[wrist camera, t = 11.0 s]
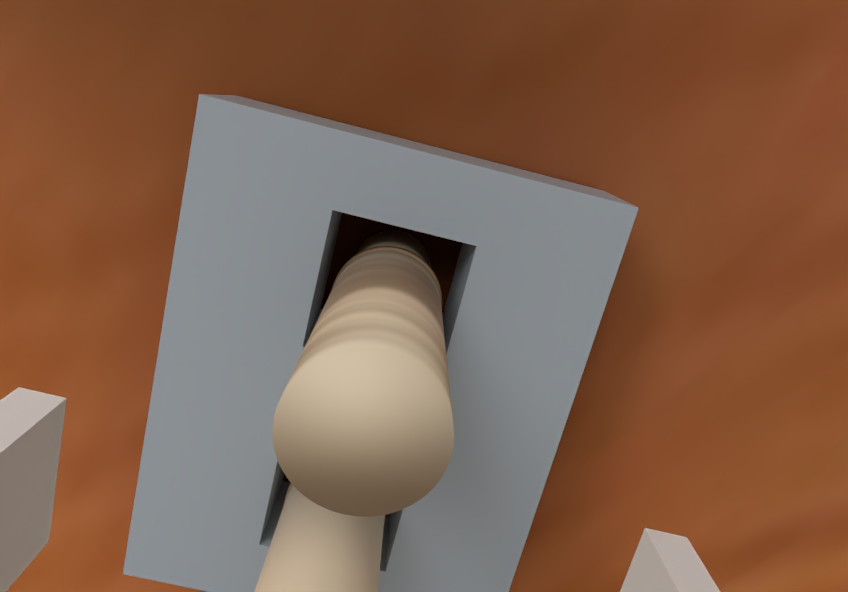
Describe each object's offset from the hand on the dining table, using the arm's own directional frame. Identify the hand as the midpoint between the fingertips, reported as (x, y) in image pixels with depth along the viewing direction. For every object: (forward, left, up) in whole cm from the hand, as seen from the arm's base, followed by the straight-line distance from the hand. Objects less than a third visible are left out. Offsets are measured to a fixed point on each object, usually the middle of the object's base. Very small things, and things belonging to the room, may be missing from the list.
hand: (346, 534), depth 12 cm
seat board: (+5, 0, -20) cm, 20 cm away
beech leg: (0, 0, -20) cm, 20 cm away
